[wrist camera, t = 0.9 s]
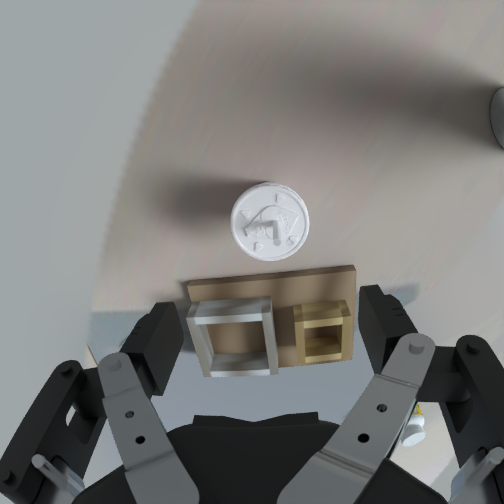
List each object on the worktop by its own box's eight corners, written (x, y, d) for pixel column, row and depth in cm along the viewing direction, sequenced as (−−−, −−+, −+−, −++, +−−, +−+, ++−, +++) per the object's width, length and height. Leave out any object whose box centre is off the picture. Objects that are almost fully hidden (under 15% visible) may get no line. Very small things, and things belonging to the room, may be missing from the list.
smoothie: (307, 216, 34) (328, 272, 21) (252, 233, 35) (240, 298, 22) (289, 161, 31) (301, 183, 18) (232, 180, 33) (205, 215, 20)
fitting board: (353, 264, 35) (363, 284, 31) (349, 352, 41) (356, 377, 36) (190, 280, 38) (179, 301, 33) (212, 363, 43) (206, 387, 38)
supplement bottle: (409, 403, 45) (423, 444, 36) (382, 409, 46) (394, 452, 37) (415, 384, 43) (433, 426, 34) (387, 390, 44) (402, 435, 35)
